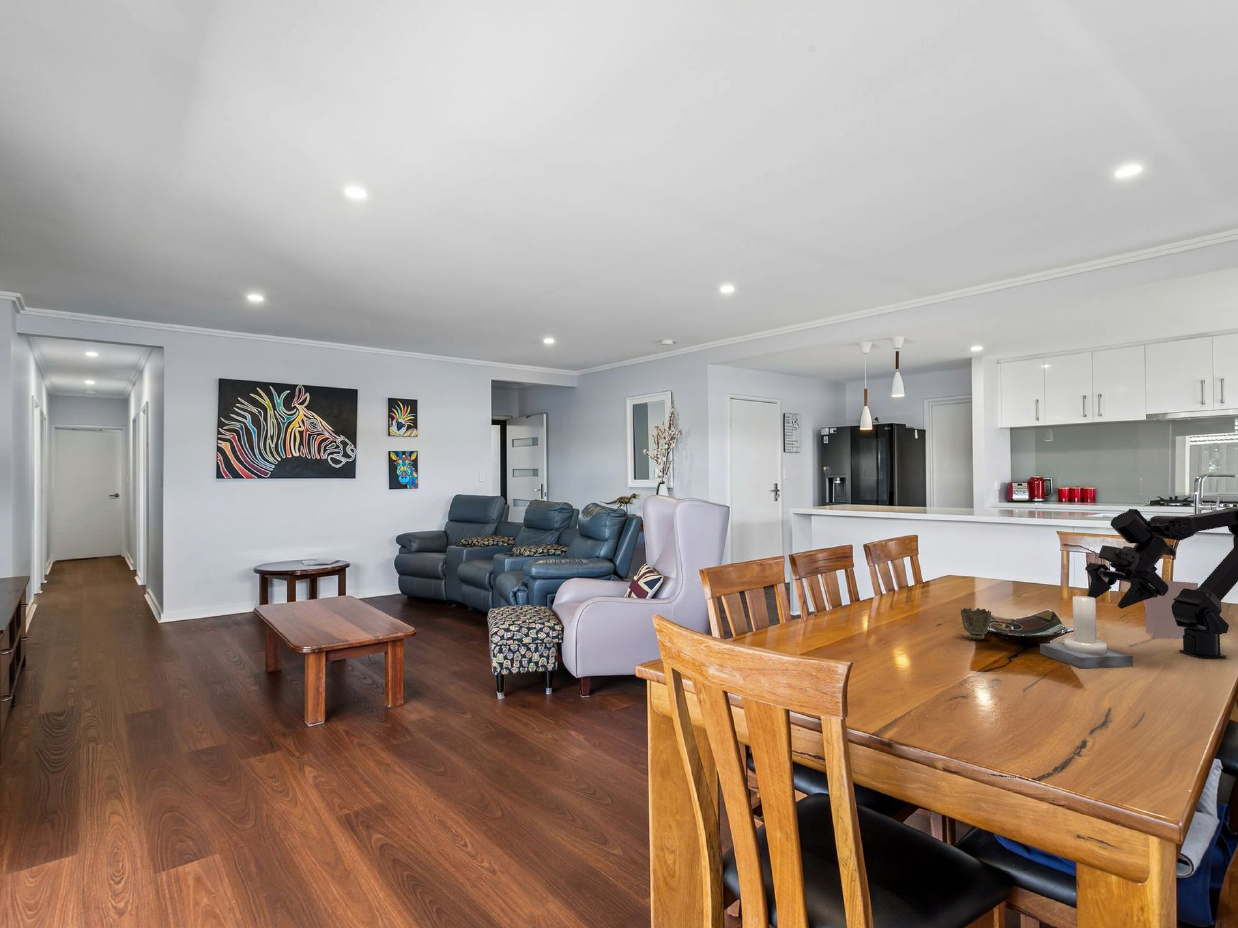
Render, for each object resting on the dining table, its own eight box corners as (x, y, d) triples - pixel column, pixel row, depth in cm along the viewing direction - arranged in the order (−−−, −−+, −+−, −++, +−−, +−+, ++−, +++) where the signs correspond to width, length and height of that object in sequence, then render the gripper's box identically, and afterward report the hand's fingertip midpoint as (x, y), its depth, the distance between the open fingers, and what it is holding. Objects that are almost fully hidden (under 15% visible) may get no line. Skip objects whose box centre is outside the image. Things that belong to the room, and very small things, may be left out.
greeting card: (1199, 638, 181) (1198, 582, 181) (1198, 643, 175) (1196, 585, 176) (1146, 631, 189) (1144, 578, 189) (1143, 636, 183) (1141, 581, 184)
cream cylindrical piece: (1102, 646, 163) (1100, 595, 163) (1111, 655, 155) (1109, 601, 155) (1061, 643, 166) (1059, 593, 167) (1068, 652, 159) (1066, 599, 159)
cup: (962, 641, 180) (961, 611, 180) (959, 635, 187) (959, 606, 187) (993, 643, 177) (993, 613, 178) (989, 637, 184) (989, 608, 184)
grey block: (1088, 651, 168) (1088, 641, 168) (1133, 666, 155) (1132, 655, 155) (1040, 653, 167) (1040, 643, 167) (1081, 668, 154) (1080, 657, 154)
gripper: (1090, 531, 172) (1051, 575, 170) (1155, 537, 153) (1112, 587, 152) (1119, 560, 172) (1081, 605, 171) (1188, 570, 154) (1145, 620, 152)
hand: (1103, 603), depth 162 cm, fingers open, 9 cm apart
